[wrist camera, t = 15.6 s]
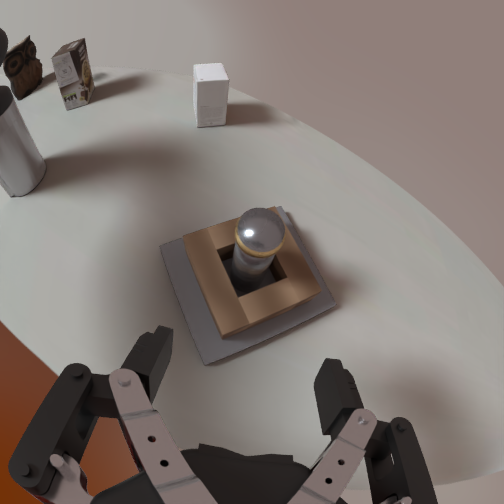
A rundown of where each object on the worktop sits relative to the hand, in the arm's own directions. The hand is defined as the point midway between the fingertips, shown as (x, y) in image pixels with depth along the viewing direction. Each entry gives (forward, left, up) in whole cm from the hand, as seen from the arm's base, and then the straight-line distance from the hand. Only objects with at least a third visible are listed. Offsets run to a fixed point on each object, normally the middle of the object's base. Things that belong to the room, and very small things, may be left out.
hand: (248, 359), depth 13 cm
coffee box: (-14, +67, -19) cm, 71 cm away
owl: (-37, +95, -19) cm, 104 cm away
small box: (+13, +43, -19) cm, 49 cm away
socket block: (+6, +9, -17) cm, 21 cm away
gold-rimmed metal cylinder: (+6, +9, -17) cm, 21 cm away
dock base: (+6, +9, -19) cm, 22 cm away
